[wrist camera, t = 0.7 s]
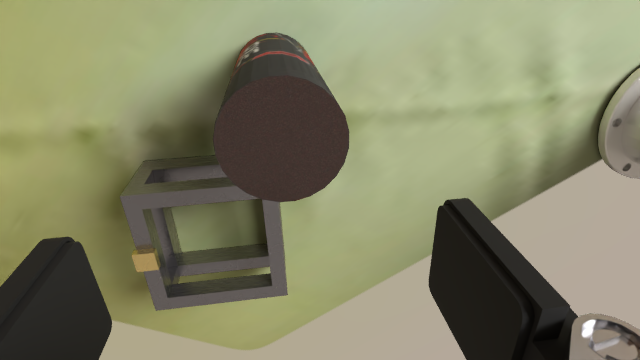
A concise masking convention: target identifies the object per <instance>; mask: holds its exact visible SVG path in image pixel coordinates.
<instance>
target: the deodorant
mask: <svg viewBox="0 0 640 360" xmlns="http://www.w3.org/2000/svg"><path fill="white" fill-rule="evenodd" d="M213 142H214V149H215V155H216V158H217V160H218V162H219V164H220V166H221V169H222V171H223V172H224V173H225V174H226V176H227V177H228V178H229V179H230V180H231V182H232V183H233V184H234V185H236V186H237V187H238V188H240V189H241V190H243V191H244V192H245V193H247V194H249V195H252V196H254V197H257V198H259V199H262V200H268V201H275V202H287V201H296V200H299V199H303V198H306V197H309V196H311V195H313V194H315V193H317V192H318V191H320V190H322V189H323V188H325V187H326V186H327V185H328V184H329V183H330V182H331V181H332V180H333V179H334V178H335V177H336V176H337V174H338V173H339V171H340V169H341V168H342V166H343V164H344V162H345V159H346V156H347V152H348V149H349V129H348V125H347V121H346V117H345V115H344V113H343V111H342V109H341V108H340V106H339V104H338V103H337V101H336V99H335V98H334V96H333V95H332V93H331V91H330V90H329V88H328V86H327V85H326V83H325V81H324V80H323V78H322V77H321V75H320V73H319V72H318V70H317V68H316V67H315V65H314V64H313V62H312V60H311V59H310V57H309V55H308V54H307V52H306V51H305V49H304V47H302V46H301V45H300V44H299V43H298V42H297V41H296V40H295V39H293V38H291V37H289V36H287V35H284V34H280V33H266V34H263V35H259V36H257V37H255V38H254V39H252V40H251V41H249V42H248V43H247V44H246V45H245V47H244V48H243V49H242V50H241V53H240V55H239V57H238V59H237V62H236V65H235V68H234V71H233V74H232V76H231V79H230V82H229V85H228V88H227V91H226V94H225V96H224V99H223V102H222V105H221V108H220V111H219V113H218V116H217V119H216V122H215V129H214V136H213Z"/></svg>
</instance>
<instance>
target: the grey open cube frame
mask: <svg viewBox="0 0 640 360" xmlns="http://www.w3.org/2000/svg"><path fill="white" fill-rule="evenodd" d="M120 199H121V202H122V205H123V208H124V211H125V214H126V218H127V221H128V224H129V227H130V230H131V233H132V237H133V240H134V243H135V246H136V249H137V250H134V251H133V253H132V258H133V261H134V264H135V268H136V271H137V272H143V271H144V275H145V278H146V281H147V284H148V287H149V290H150V294H151V297H152V300H153V303H154V306H155V309H156V311H157V310H165V309H174V308H182V307H191V306H199V305H208V304H216V303H225V302H233V301H242V300H250V299H259V298H267V297H275V296H284V295H288V293H287V280H286V267H285V253H284V242H283V232H282V221H281V210H280V202H275V201H268V200H262V203H263V211H264V220H265V228H266V237H267V244H257V245H248V246H238V247H229V248H219V249H209V250H200V251H190V252H181V248H180V244H179V239H178V235H177V231H176V227H175V223H174V219H173V215H172V211H171V207H173V206H184V205H195V204H206V203H217V202H228V201H239V200H250V199H259V198H257V197H254V196H252V195H249V194H247V193H245V192H244V191H243V190H241V189H240V188H238V187H237V186H236V185H234V184H233V183H232V182H231V180H230V179H229V178H228V177H227V176H226V174H225V173H224V172H223V171H222V169H221V166H220V164H219V162H218V160H217V158H216V155H212V156H199V157H187V158H174V159H162V160H149V161H143V163H142V164H141V166H140V167H139V169H138V170H137V172H136V173H135V175H134V176H133V178H132V179H131V181H130V182H129V183H128V185H127V186H126V188H125V189H124V191H123V192H122V194H121V195H120ZM269 266H270V271H271V273H270V274H261V275H252V276H243V277H234V278H225V279H216V280H207V281H198V282H189V283H180V284H178V282H179V279H180V276H187V275H196V274H205V273H214V272H223V271H232V270H241V269H251V268H260V267H269Z"/></svg>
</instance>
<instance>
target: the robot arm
mask: <svg viewBox="0 0 640 360" xmlns="http://www.w3.org/2000/svg"><path fill="white" fill-rule="evenodd" d="M598 146H599V150H600V154H601V157H602V158H603V160H604V162H605V163H606V164H607V165H608V166H609V167H610V168H611V169H613V170H614V171H616V172H618V173H620V174H622V175H624V176H627V177H630V178H638V179H640V68H639V69H637V70H636V71H635V72H634V73H633V74H631V75H630V77H629V78H628V79H627V80H626V81H625V82H624V83H623V84H622V85H621V86H620V88H619V89H618V90H617V92H616V93H615V94H614V96H613V97H612V99H611V101H610V102H609V104H608V106H607V108H606V110H605V112H604V115H603V118H602V120H601V123H600V128H599V134H598ZM429 288H430V292H431V294H432V296H433V298H434V300H435V302H436V304H437V305H438V307H439V309H440V311H441V313H442V315H443V317H444V318H445V320H446V322H447V324H448V326H449V328H450V330H451V331H452V333H453V335H454V337H455V339H456V341H457V343H458V344H459V347H460V348H461V350H462V352H463V354H464V356H465V358H466V359H467V360H640V330H639V329H638V328H636V327H634V326H632V325H631V324H629V323H627V322H625V321H623V320H620V319H618V318H615V317H612V316H608V315H604V314H592V313H590V314H585V315H581V316H579V317H578V316H577V315H576V314H575V313H574V312H573V311H572V309H571V308H570V305H569V304H568V303H567V302H566V301H565V300H564V299H563V298H562V297H561V296H560V294H559V293H557V291H556V290H555V289H554V288H553V287H552V286H551V285H550V284H549V283H548V282H547V281H546V280H545V279H544V278H543V277H542V275H541V274H540V273H539V272H538V271H537V270H536V269H535V268H534V267H533V266H532V265H531V264H530V263H529V262H528V261H527V260H526V259H525V258H524V256H523V255H522V254H521V253H520V252H519V251H518V250H517V249H516V248H515V247H514V246H513V245H512V244H511V243H510V242H509V241H508V240H507V239H506V238H505V236H503V234H501V232H500V231H499V230H498V229H497V228H496V227H495V226H494V225H493V224H492V223H491V222H490V221H489V219H488V218H487V217H486V216H485V215H484V214H483V213H482V212H481V211H480V210H479V209H478V208H477V207H476V206H475V205H474V204H473V203H472V202H471V200H469V199H468V198H462V199H452V200H446V201H445V203H444V205H443V206H440V207H439V208H438V212H437V220H436V227H435V235H434V243H433V251H432V259H431V267H430V275H429ZM111 327H112V320H111V317H110V314H109V312H108V309H107V307H106V304H105V301H104V299H103V296H102V294H101V291H100V289H99V286H98V284H97V281H96V279H95V276H94V274H93V271H92V269H91V266H90V264H89V261H88V259H87V256H86V254H85V251H84V249H83V246H82V245H81V243H80V242H75V241H74V240H73V239H72V238H71V237H61V238H50V239H44V240H42V241H40V242H39V243H38V244H37V246H36V247H35V248H34V249H33V250H32V251H31V252H30V254H29V255H28V256H27V257H26V258H25V259H24V260H23V262H22V263H21V264H20V265H19V266H18V267H17V268H16V270H15V271H14V272H13V273H12V274H11V275H10V276H9V278H8V279H7V280H6V281H5V282H4V283H3V285H2V286H1V287H0V360H99V357H100V355H101V353H102V350H103V348H104V346H105V344H106V342H107V339H108V337H109V335H110V332H111Z"/></svg>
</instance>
